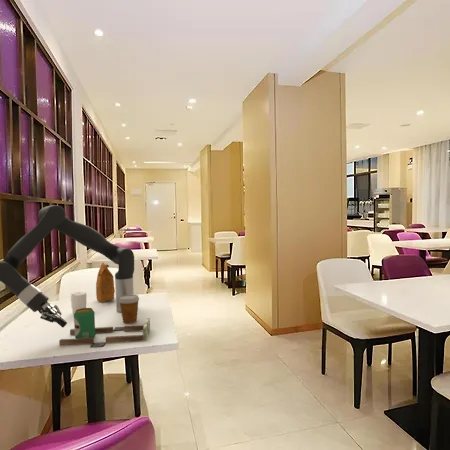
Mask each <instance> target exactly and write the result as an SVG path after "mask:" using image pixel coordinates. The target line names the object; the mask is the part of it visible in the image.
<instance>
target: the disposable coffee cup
mask: <svg viewBox="0 0 450 450" xmlns="http://www.w3.org/2000/svg"><path fill="white" fill-rule="evenodd" d="M139 301H140V297H139V295H138V294H134V295H124V296H121V297H120V298H119V303H120V307H121V312H120V313H121V317H122V323H123V324H127V325H129V324H135V323H136V322H137V320H138V311H139V310H138V309H139V307H138V306H139Z"/></svg>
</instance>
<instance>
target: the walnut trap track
mask: <svg viewBox="0 0 450 450" xmlns="http://www.w3.org/2000/svg"><path fill="white" fill-rule="evenodd" d="M140 330H143V331H142V334H131V335H127V334H126V335H115V336H114V335H113V336H106V337H105V339H104V340H105V341H99V342H96V341H95V336H94V337H92V338H75V337H74V338H61V339H60V340H59V341H58V342H59V346H75V345H77V346H78V345H90V346H89V348H103V347H104V346H105V344H108V343H109V344H110V343H127V342H126V341H129V342H140V341H142V340H147V339H146V338H148V336H149V332H150V330H151V320H150V317H147V318H146V320H145V322H144V324H138V325H136V324H135V325H124V326H116V327H114V326H98V327H95V334H105V333H106V334H107V333H113V332H120V331H125V332H140ZM69 334H70V335H75V328H71V329H70V330H69ZM147 335H148V336H147ZM142 342H143V341H142Z"/></svg>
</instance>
